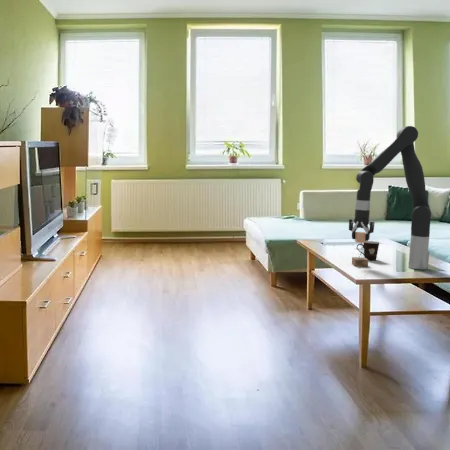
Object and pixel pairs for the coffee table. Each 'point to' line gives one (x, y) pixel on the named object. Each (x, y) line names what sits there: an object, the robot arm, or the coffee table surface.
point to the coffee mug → (370, 250)
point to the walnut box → (360, 261)
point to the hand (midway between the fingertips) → (360, 239)
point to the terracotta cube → (360, 237)
